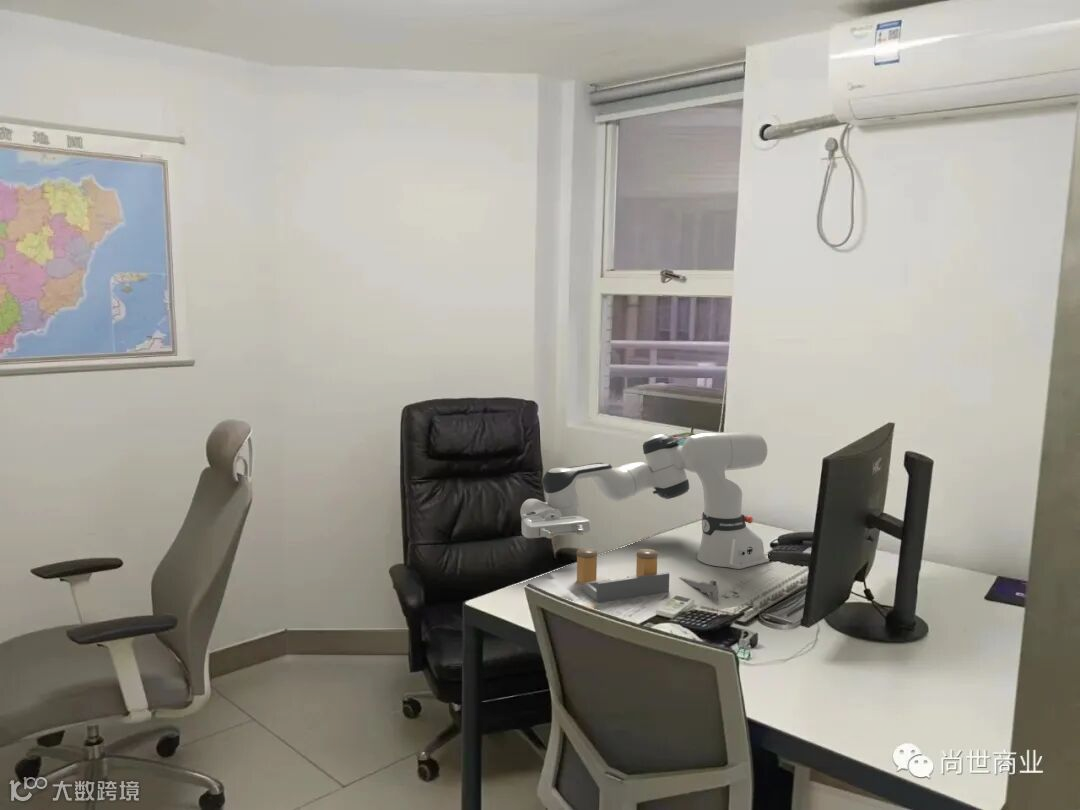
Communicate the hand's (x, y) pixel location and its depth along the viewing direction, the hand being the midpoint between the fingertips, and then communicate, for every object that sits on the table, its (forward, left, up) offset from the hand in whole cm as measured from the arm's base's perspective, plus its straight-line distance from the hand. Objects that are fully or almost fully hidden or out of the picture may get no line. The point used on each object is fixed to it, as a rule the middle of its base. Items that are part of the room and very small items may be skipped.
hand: (566, 534), depth 231 cm
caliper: (-26, +27, -12) cm, 39 cm away
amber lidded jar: (0, +12, -11) cm, 17 cm away
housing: (-7, +22, -11) cm, 26 cm away
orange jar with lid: (-13, +22, -10) cm, 28 cm away
